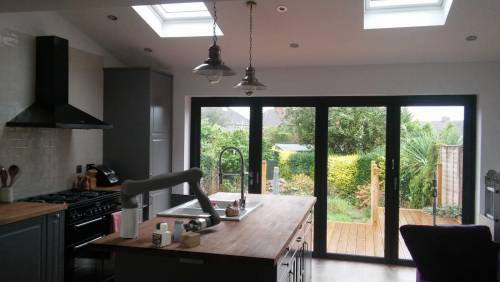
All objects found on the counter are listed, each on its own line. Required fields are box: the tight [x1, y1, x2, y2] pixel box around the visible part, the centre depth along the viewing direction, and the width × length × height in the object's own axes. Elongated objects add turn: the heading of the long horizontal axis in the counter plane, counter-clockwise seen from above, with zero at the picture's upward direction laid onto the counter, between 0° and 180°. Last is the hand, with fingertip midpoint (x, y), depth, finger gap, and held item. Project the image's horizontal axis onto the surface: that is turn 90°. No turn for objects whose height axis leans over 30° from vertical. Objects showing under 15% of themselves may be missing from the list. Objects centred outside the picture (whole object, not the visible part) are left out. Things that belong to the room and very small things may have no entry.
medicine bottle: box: [151, 221, 172, 248], centre depth 229 cm, size 7×7×12 cm
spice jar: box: [173, 219, 184, 242], centre depth 240 cm, size 5×5×11 cm
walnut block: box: [178, 231, 201, 248], centre depth 230 cm, size 8×8×6 cm
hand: (180, 229), depth 242 cm, fingers open, 8 cm apart
